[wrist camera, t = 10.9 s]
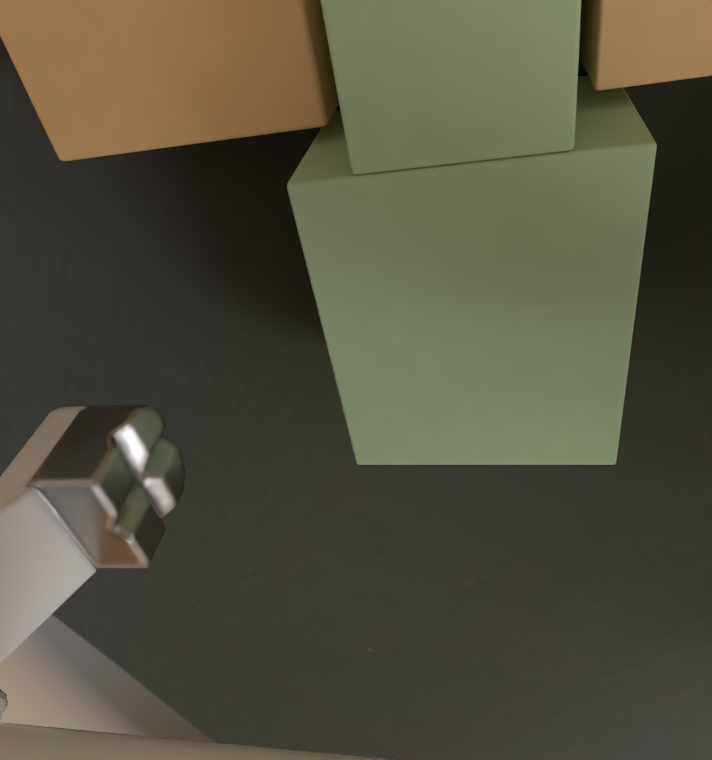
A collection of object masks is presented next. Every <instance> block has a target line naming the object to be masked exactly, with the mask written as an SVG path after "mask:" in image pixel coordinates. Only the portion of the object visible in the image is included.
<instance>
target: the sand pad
mask: <svg viewBox="0 0 712 760" xmlns="http://www.w3.org/2000/svg"><path fill="white" fill-rule="evenodd" d="M0 36H1V38H2V40H3V43H4V45H5V47H6V49H7V51H8V53H9V55H10V57H11V59H12V61H13V64H14V66H15V68H16V70H17V72H18V74H19V76H20V78H21V80H22V82H23V85H24V87H25V89H26V91H27V93H28V95H29V97H30V99H31V101H32V103H33V106H34V108H35V110H36V112H37V114H38V116H39V118H40V120H41V122H42V124H43V127H44V129H45V131H46V133H47V135H48V137H49V139H50V141H51V143H52V145H53V148H54V150H55V152H56V154H57V156H58V158H59V159H60V160H62V161H70V160H78V159H85V158H93V157H100V156H107V155H115V154H122V153H130V152H137V151H145V150H152V149H160V148H167V147H175V146H182V145H190V144H197V143H205V142H212V141H220V140H227V139H234V138H242V137H249V136H257V135H264V134H272V133H279V132H287V131H294V130H302V129H309V128H317V127H324V126H325V125H327V124H328V122H329V121H330V119H331V117H332V115H333V114H334V112H335V110H336V109H337V107H338V105H339V100H338V94H337V89H336V83H335V78H334V72H333V67H332V61H331V56H330V50H329V45H328V39H327V34H326V28H325V23H324V17H323V12H322V6H321V1H320V0H0ZM579 56H580V58H581V60H582V63H583V65H584V67H585V69H586V71H587V73H588V75H589V77H590V79H591V82H592V84H593V86H594V88H595V90H597V91H600V90H607V89H615V88H622V87H630V86H637V85H645V84H652V83H660V82H667V81H675V80H682V79H690V78H697V77H705V76H712V0H582V10H581V32H580V53H579Z"/></svg>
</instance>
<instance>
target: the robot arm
mask: <svg viewBox="0 0 712 760" xmlns="http://www.w3.org/2000/svg"><path fill="white" fill-rule="evenodd" d="M165 426H166V423H165V421H164V419H163V418H162V416H161V414H160V412H159V411H158V409H157V408H155V407H152V406H149V405H112V406H89V407H60V408H58V409H56V410H54V411H51V412H50V413H49V415H48V416H47V417H46V419H45V420H44V421H43V422H42V424H41V425H40V426H39V428H38V429H37V430H36V431H35V433H34V434H33V435H32V437H31V438H30V439H29V440H28V442H27V443H26V444H25V446H24V447H23V448H22V449H21V451H20V452H19V453H18V455H17V456H16V457H15V458H14V460H13V461H12V462H11V464H10V465H9V466H8V467H7V469H6V470H5V471H4V473H3V474H2V475H1V477H0V664H1V663H2V661H4V660H5V659H6V658H7V657H8V656H9V655H10V654H11V653H12V652H13V651H14V650H15V649H16V648H17V647H18V646H19V645H20V644H21V643H22V642H23V641H24V640H25V639H26V638H27V637H28V636H29V635H30V634H32V633H33V631H34V630H36V629H37V628H38V627H39V626H40V625H41V624H42V623H43V622H44V621H45V620H46V619H47V618H48V617H49V616H50V615H51V614H52V613H53V612H54V611H55V610H56V609H57V608H58V607H60V606H61V605H62V604H63V603H64V602H65V601H66V600H67V599H68V598H69V597H70V596H71V595H72V594H73V593H74V592H75V591H76V590H77V589H78V588H79V587H80V586H81V585H82V584H83V583H84V582H85V581H86V580H87V579H88V578H90V577H91V576H92V575H93V574H94V573H95V572H96V569H95V568H148V566H149V564H150V562H151V560H152V558H153V555H154V553H155V551H156V549H157V547H158V545H159V543H160V540H161V538H162V536H163V534H164V532H165V527H164V523H163V520H162V517H163V516H164V515H165V514H167V513H168V512H169V511H170V510H172V509H173V508H174V507H175V506H176V505H177V503H178V501H179V499H180V496H181V494H182V492H183V488H184V479H185V466H184V461H183V457H182V455H181V453H180V451H179V449H178V446H177V445H176V444H174V443H173V442H172V441H170V440H169V439H167V438H166V437H165V436H163V432H164V429H165ZM7 705H8V701H7V696H6V694H5V693H4V692H3V691H2V690H0V718H1V716H2V715H3V713H4V711H5V709H6V707H7ZM0 760H392V759H381V758H371V757H360V756H349V755H339V754H328V753H318V752H307V751H297V750H286V749H276V748H265V747H255V746H244V745H234V744H223V743H212V742H202V741H192V740H181V739H170V738H159V737H149V736H138V735H128V734H116V733H107V732H96V731H86V730H74V729H65V728H53V727H43V726H33V725H22V724H12V723H1V722H0Z"/></svg>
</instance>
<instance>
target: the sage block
mask: <svg viewBox="0 0 712 760" xmlns="http://www.w3.org/2000/svg"><path fill="white" fill-rule="evenodd" d="M320 1H321V6H322V12H323V17H324V23H325V28H326V34H327V39H328V45H329V50H330V56H331V61H332V67H333V72H334V78H335V83H336V89H337V94H338V100H339V105H340V110H335V112H334V114H333V115H332V117H331V119H330V121H329V122H328V124H327V125H325V126H324V127H322V128H321V129H320V131H319V133H318V134H317V136H316V137H315V139H314V141H313V142H312V144H311V146H310V147H309V149H308V151H307V152H306V154H305V156H304V157H303V159H302V160H301V162H300V164H299V165H298V167H297V169H296V170H295V172H294V174H293V175H292V177H291V178H290V180H289V182H288V183H287V190H288V194H289V198H290V202H291V206H292V209H293V213H294V217H295V221H296V225H297V229H298V233H299V237H300V241H301V245H302V249H303V253H304V257H305V261H306V265H307V269H308V273H309V277H310V281H311V285H312V289H313V293H314V297H315V301H316V305H317V308H318V312H319V316H320V320H321V324H322V328H323V332H324V336H325V340H326V344H327V348H328V352H329V356H330V360H331V364H332V368H333V372H334V376H335V380H336V384H337V388H338V392H339V396H340V400H341V404H342V408H343V411H344V415H345V419H346V423H347V427H348V431H349V435H350V439H351V443H352V447H353V451H354V455H355V459H356V463H357V464H359V465H614V464H615V463H616V460H617V452H618V445H619V437H620V429H621V421H622V413H623V406H624V398H625V390H626V382H627V374H628V367H629V359H630V351H631V343H632V335H633V328H634V320H635V312H636V304H637V297H638V289H639V281H640V273H641V265H642V258H643V250H644V242H645V234H646V226H647V219H648V211H649V203H650V195H651V187H652V180H653V172H654V164H655V156H656V148H657V145H656V142H655V140H654V139H653V137H652V135H651V134H650V132H649V130H648V129H647V127H646V125H645V123H644V122H643V120H642V118H641V117H640V115H639V113H638V112H637V110H636V108H635V107H634V105H633V103H632V101H631V100H630V98H629V96H628V95H627V93H626V91H625V90H624V88H623V87H622V88H615V89H607V90H600V91H597V90H595V88H594V86H593V84H592V82H591V79H590V77H589V75H584V76H578V62H579V40H580V18H581V0H320Z"/></svg>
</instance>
